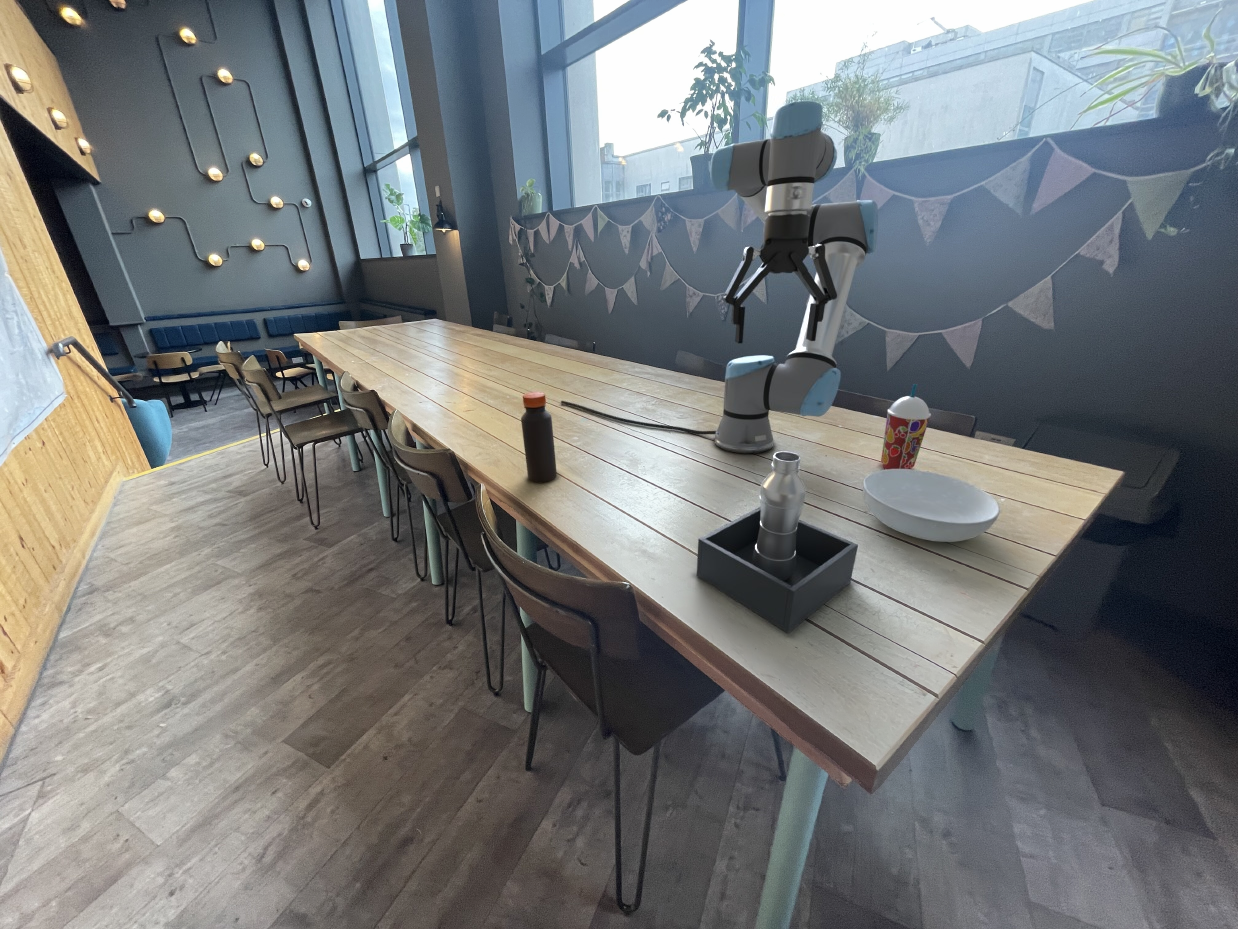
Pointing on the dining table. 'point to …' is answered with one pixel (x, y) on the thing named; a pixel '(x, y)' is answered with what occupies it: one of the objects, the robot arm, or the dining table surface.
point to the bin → (779, 602)
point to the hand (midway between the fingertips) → (774, 341)
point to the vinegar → (538, 438)
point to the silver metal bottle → (780, 516)
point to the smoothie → (904, 432)
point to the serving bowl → (929, 504)
